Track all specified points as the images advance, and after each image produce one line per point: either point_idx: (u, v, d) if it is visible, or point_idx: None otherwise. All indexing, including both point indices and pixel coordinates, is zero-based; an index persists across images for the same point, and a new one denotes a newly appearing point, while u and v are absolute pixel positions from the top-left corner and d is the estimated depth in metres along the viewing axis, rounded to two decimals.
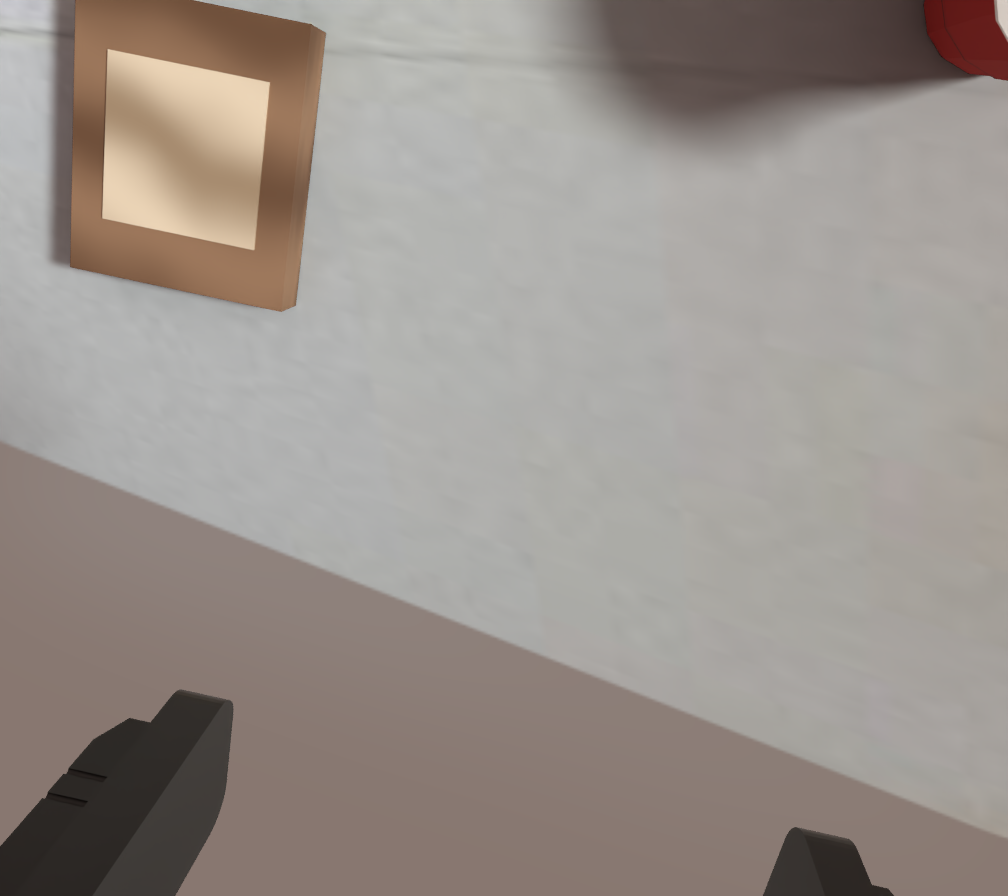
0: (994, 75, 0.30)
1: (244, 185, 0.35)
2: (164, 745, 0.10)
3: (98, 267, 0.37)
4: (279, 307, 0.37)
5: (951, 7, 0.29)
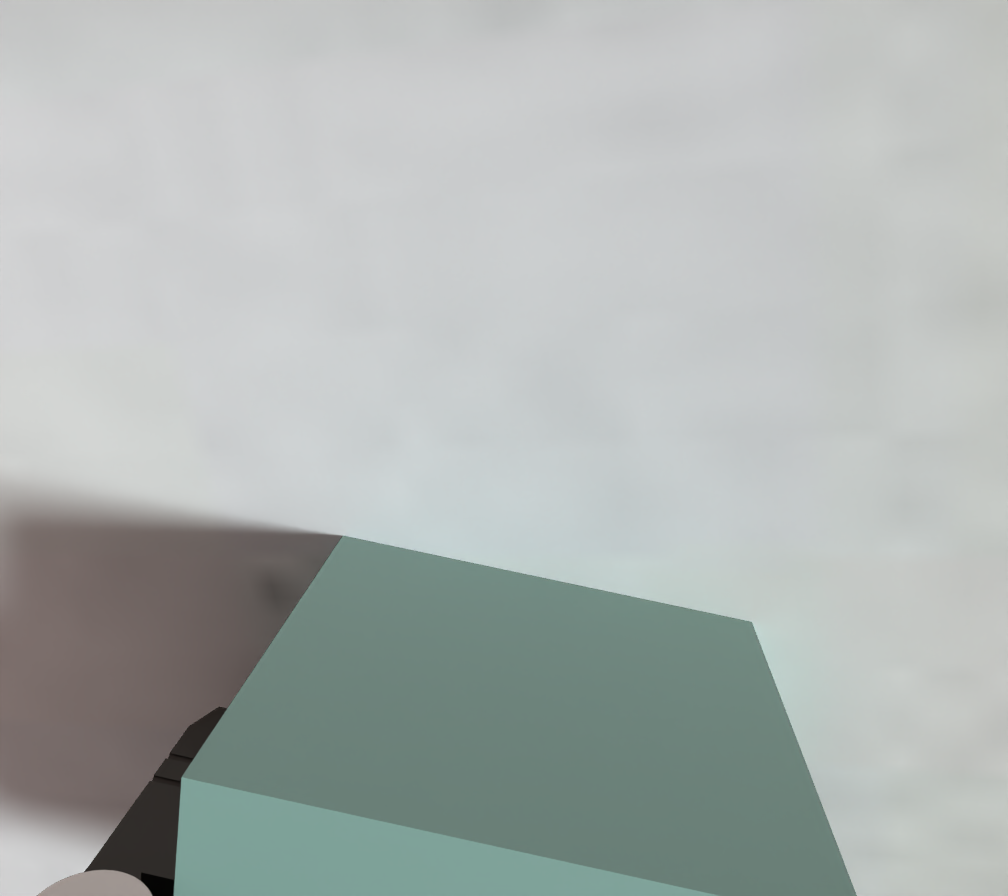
0: None
1: None
2: None
3: None
4: None
5: None
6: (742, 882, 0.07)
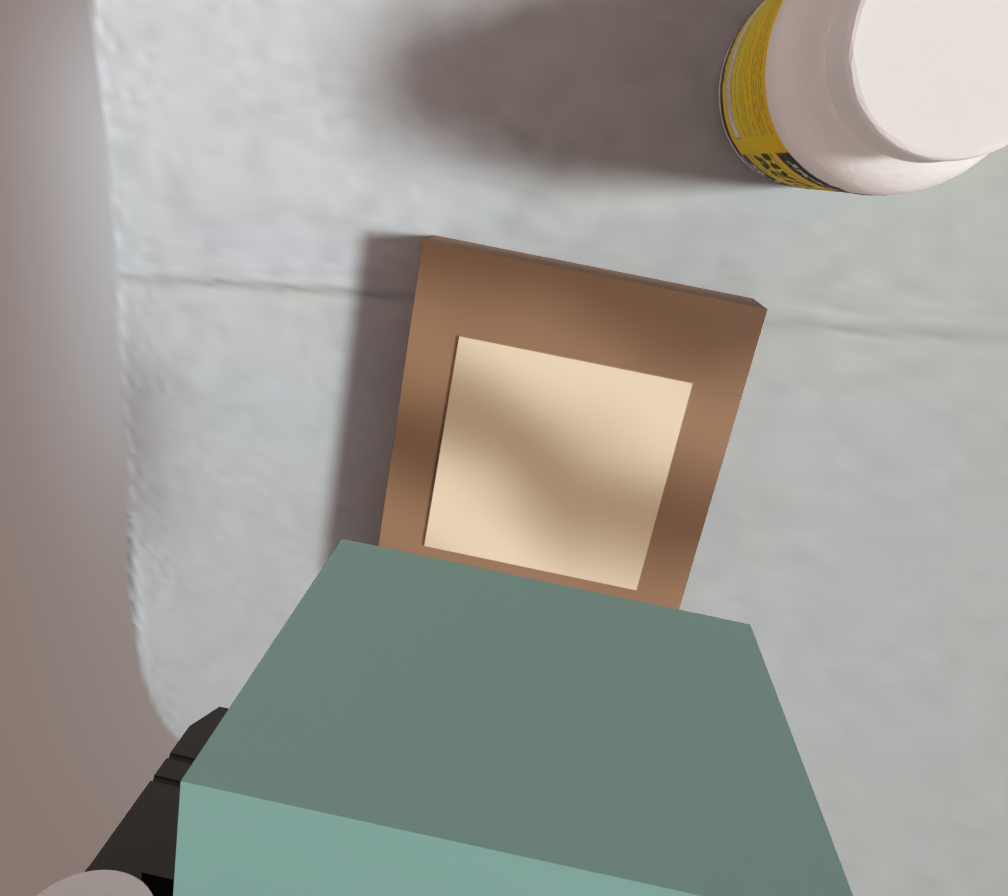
0: None
1: (636, 511, 0.25)
2: None
3: None
4: None
5: None
6: (739, 885, 0.07)
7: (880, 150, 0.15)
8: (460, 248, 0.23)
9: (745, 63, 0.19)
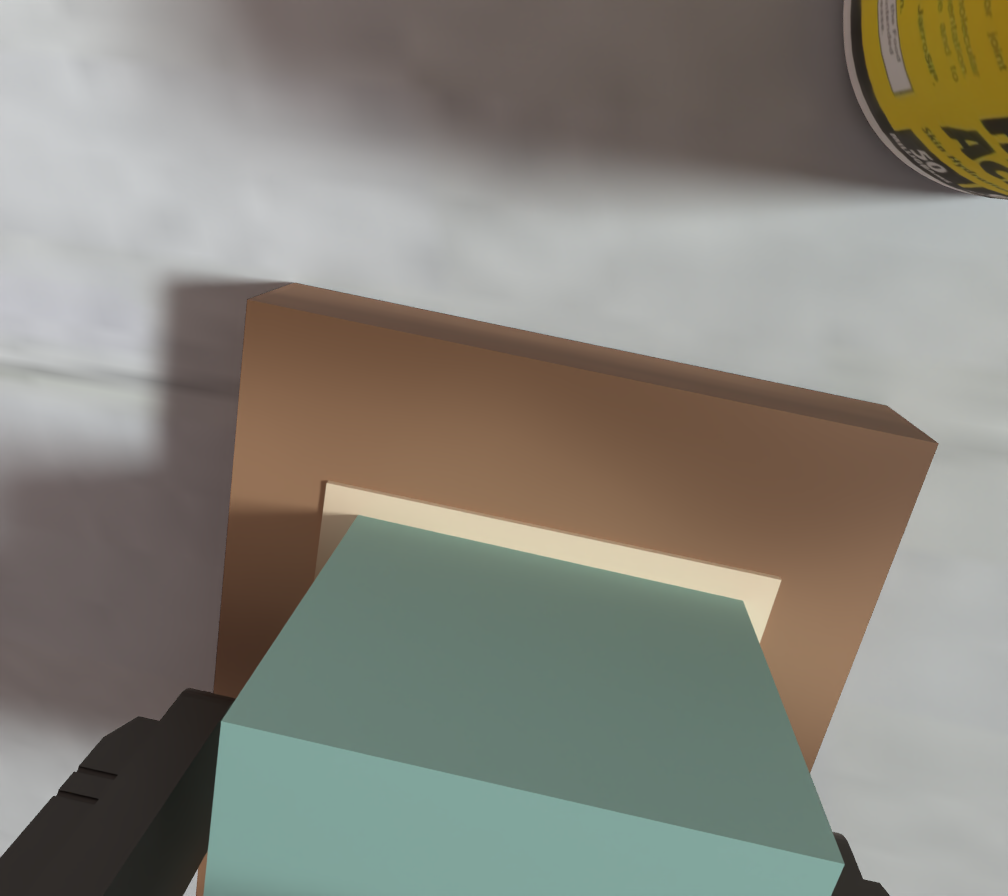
0: None
1: None
2: (174, 743, 0.10)
3: None
4: None
5: None
6: (730, 822, 0.08)
7: None
8: (323, 315, 0.12)
9: None
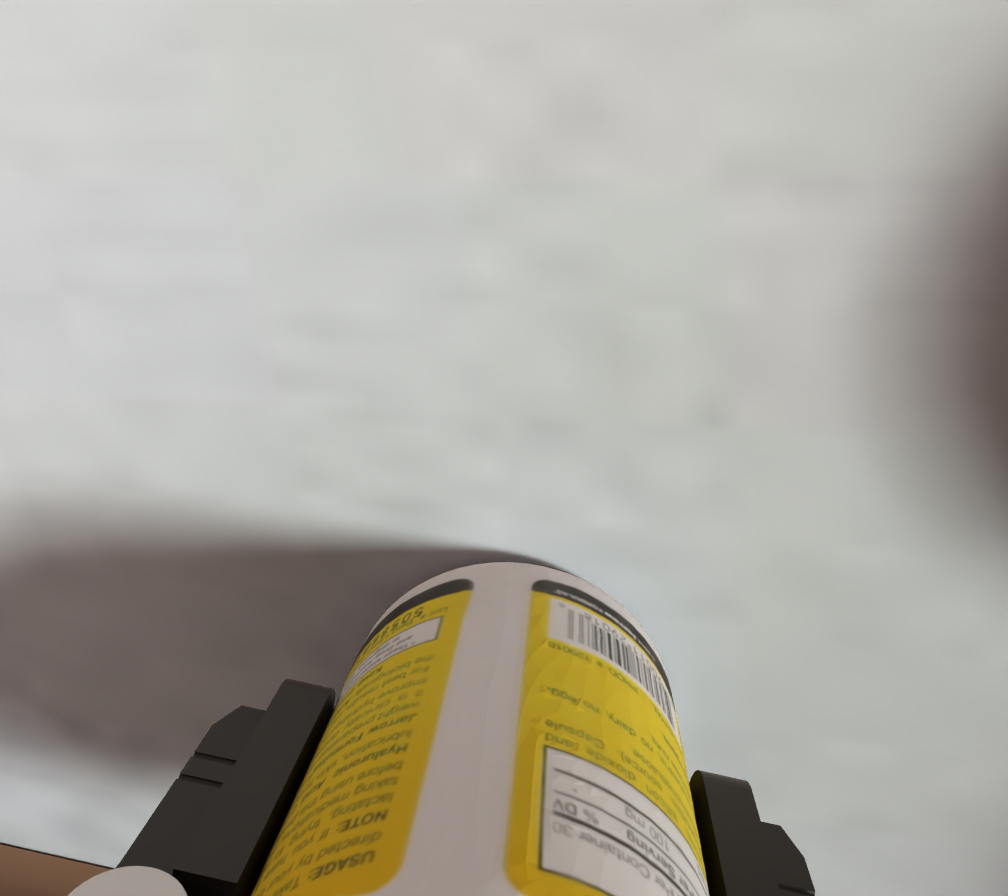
0: None
1: None
2: (283, 730, 0.11)
3: None
4: None
5: None
6: None
7: None
8: None
9: None
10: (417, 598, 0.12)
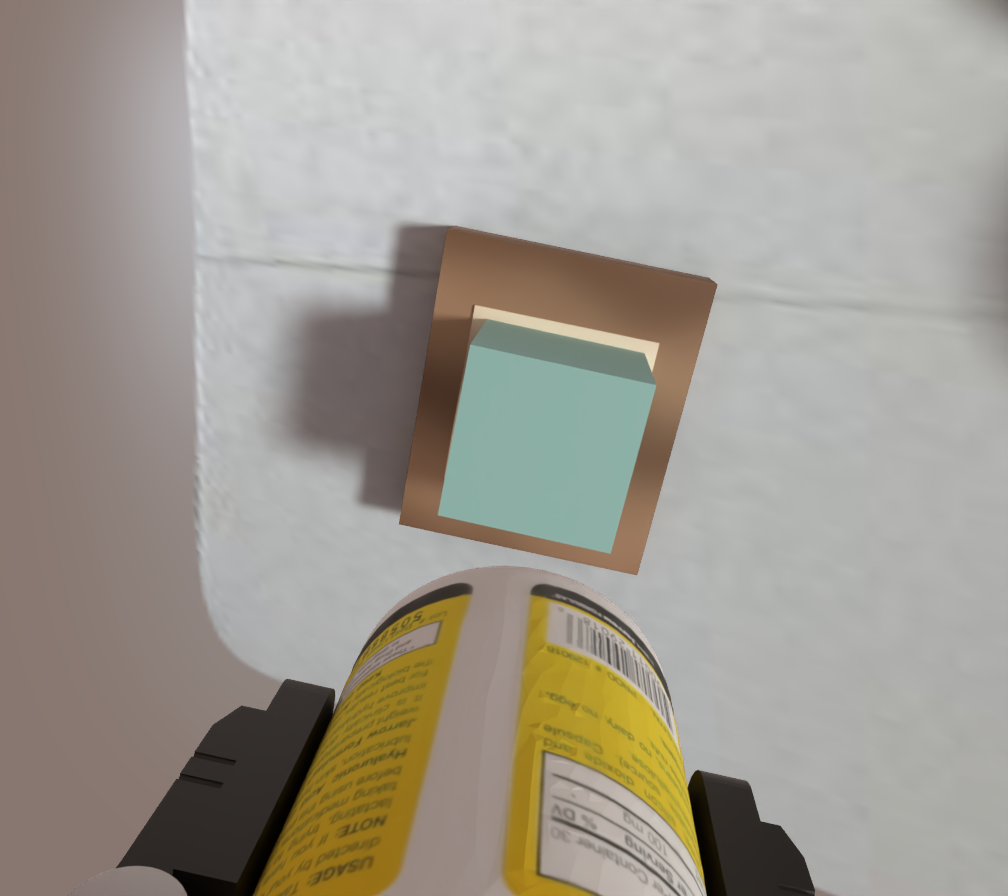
0: None
1: None
2: (283, 730, 0.11)
3: (431, 525, 0.33)
4: (635, 571, 0.33)
5: None
6: (623, 376, 0.26)
7: None
8: (476, 235, 0.29)
9: None
10: (416, 602, 0.12)
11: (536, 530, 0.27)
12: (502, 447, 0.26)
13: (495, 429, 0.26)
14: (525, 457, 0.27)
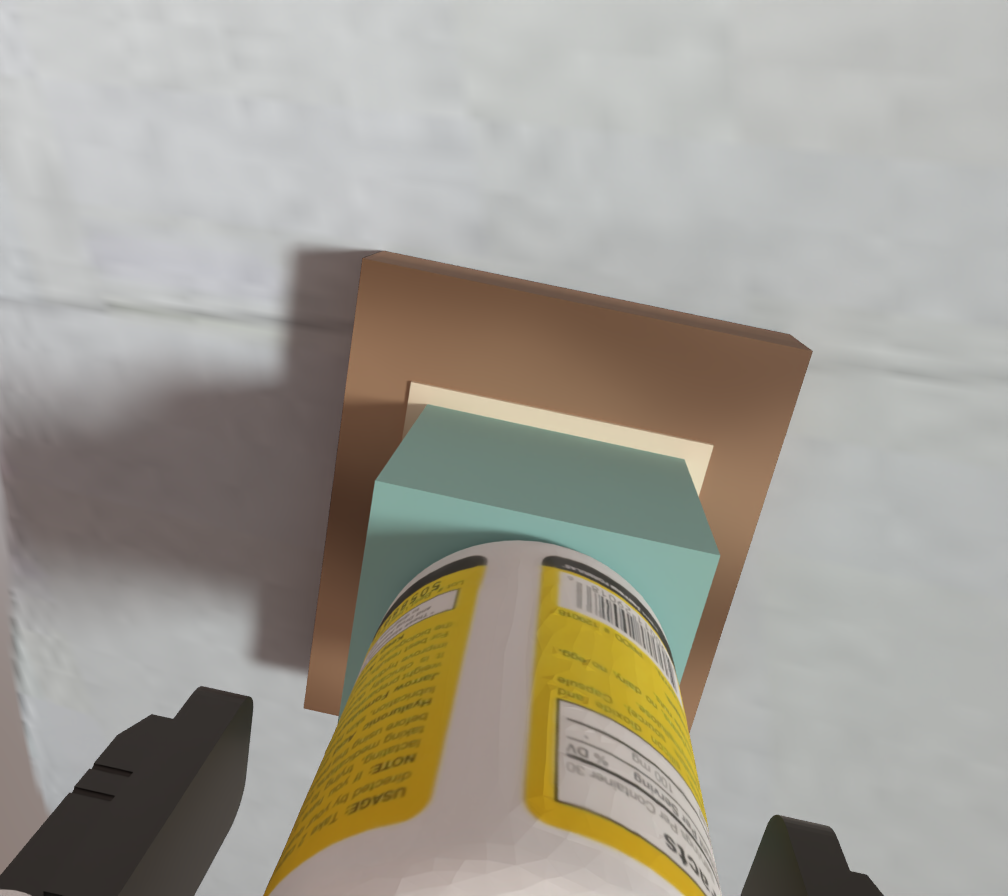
0: None
1: None
2: (188, 740, 0.10)
3: None
4: None
5: None
6: (658, 537, 0.14)
7: None
8: (411, 268, 0.18)
9: None
10: (434, 573, 0.13)
11: None
12: None
13: None
14: None
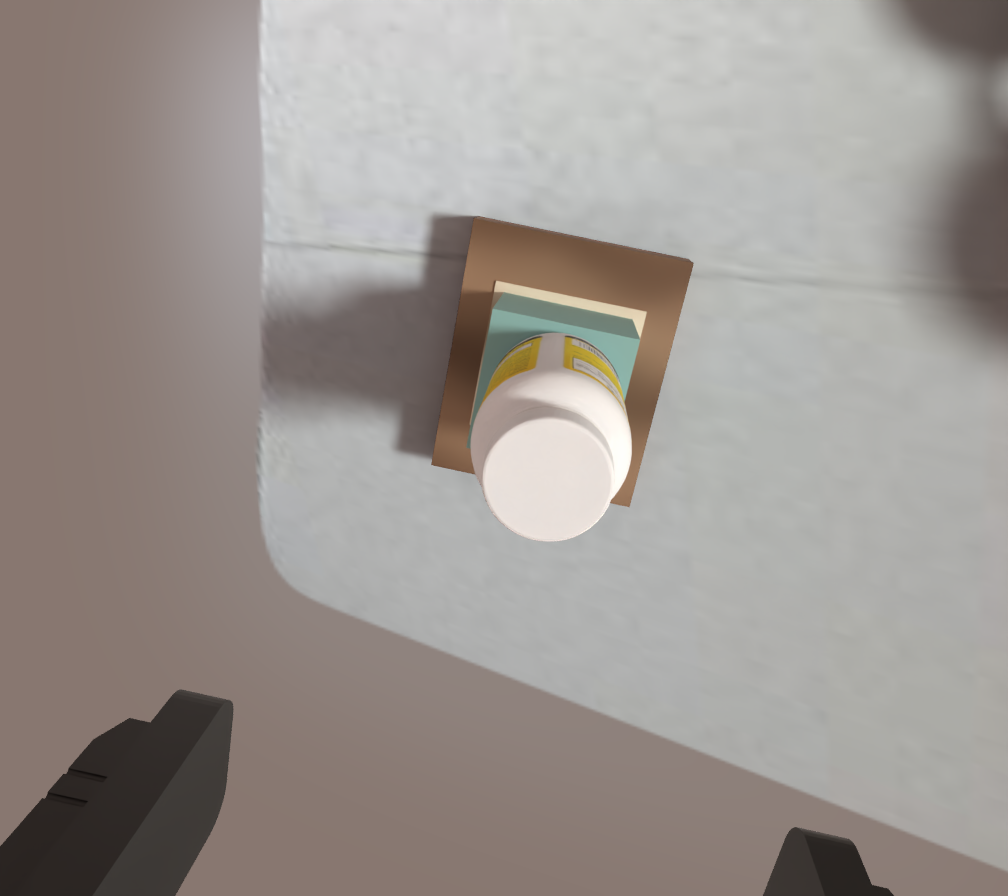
0: None
1: None
2: (164, 745, 0.10)
3: (458, 465, 0.40)
4: (628, 503, 0.40)
5: None
6: (614, 333, 0.32)
7: None
8: (497, 223, 0.36)
9: None
10: (519, 344, 0.32)
11: None
12: None
13: None
14: None
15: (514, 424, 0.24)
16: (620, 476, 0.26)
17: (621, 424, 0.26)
